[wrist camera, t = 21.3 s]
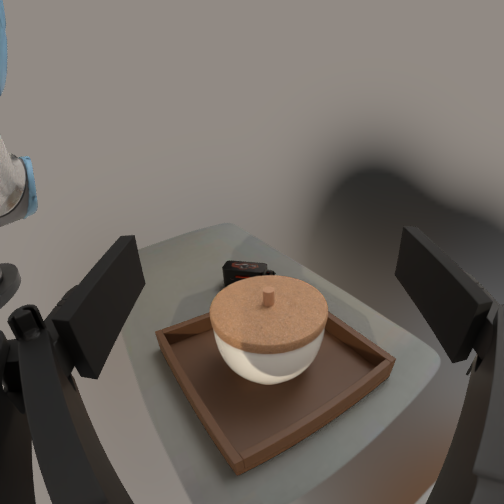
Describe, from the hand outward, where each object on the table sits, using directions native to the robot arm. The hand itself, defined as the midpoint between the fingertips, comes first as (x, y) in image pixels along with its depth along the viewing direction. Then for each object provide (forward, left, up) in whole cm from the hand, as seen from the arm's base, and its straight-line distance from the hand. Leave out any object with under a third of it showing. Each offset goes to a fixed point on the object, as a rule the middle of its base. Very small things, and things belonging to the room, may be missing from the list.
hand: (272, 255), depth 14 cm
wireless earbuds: (-2, +27, -19) cm, 33 cm away
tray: (0, +10, -18) cm, 21 cm away
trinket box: (0, +10, -18) cm, 20 cm away
